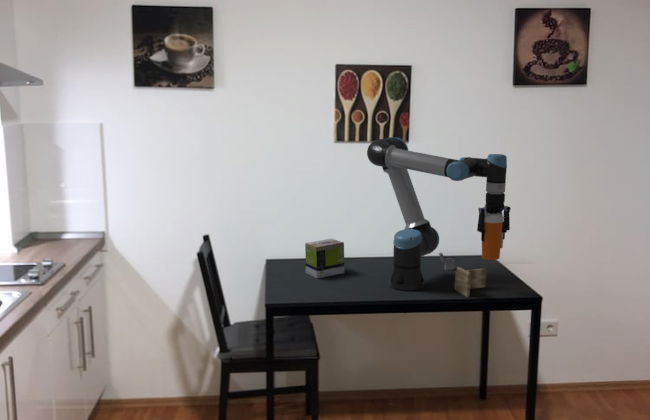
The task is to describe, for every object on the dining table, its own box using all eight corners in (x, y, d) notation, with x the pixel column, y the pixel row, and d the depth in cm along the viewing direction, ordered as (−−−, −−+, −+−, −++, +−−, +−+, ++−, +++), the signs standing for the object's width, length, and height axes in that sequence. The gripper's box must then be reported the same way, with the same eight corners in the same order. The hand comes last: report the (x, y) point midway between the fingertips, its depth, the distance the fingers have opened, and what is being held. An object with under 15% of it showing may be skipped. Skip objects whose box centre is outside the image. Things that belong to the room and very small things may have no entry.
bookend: (466, 296, 260) (468, 273, 258) (454, 289, 270) (455, 266, 268) (497, 293, 265) (498, 270, 263) (483, 286, 274) (485, 263, 272)
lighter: (453, 268, 300) (453, 252, 299) (454, 269, 299) (454, 252, 297) (438, 268, 300) (438, 252, 298) (439, 269, 298) (439, 253, 297)
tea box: (332, 268, 300) (332, 237, 297) (344, 273, 292) (345, 242, 289) (304, 273, 292) (304, 241, 289) (316, 279, 284) (316, 246, 281)
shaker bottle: (498, 261, 259) (500, 213, 255) (476, 258, 263) (478, 211, 259) (504, 256, 266) (506, 209, 262) (483, 253, 271) (485, 207, 267)
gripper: (479, 195, 253) (476, 252, 258) (521, 193, 259) (518, 248, 264) (469, 192, 260) (466, 247, 265) (510, 190, 266) (507, 244, 271)
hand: (492, 247), depth 264 cm, fingers open, 6 cm apart
